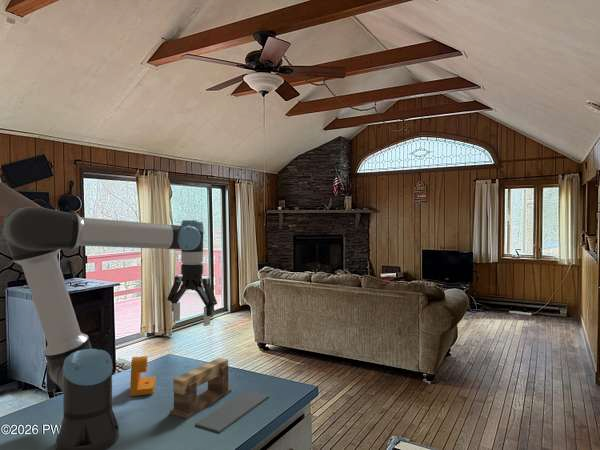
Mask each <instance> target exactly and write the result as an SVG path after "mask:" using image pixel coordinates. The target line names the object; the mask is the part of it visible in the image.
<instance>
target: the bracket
mask: <svg viewBox="0 0 600 450" xmlns="http://www.w3.org/2000/svg"><path fill="white" fill-rule="evenodd" d="M197 388H198V387H197V382H193V383H191V384H189V385H188V392H187V393H185V394H179V393H175V392H173V408H172V409H169V414H171V415H173V416H176V417H177V416H178V417H180V418H184V419H189V418H190V417H192V416H194V415H195V414H196V413H199V412H201V411H202V410H203V409H205V408H207V407H208V406H210V405H212V404H214V403H215V402H217V401H218V400H220V399H222V398H224V397H225V396H227V395H228V394H230V393H231V392H233V391H232V388H231V387H229V365H228V366H227V365H226V366H224V367H222V368H221V375H219V376H217V377H215V378H214V379H212V380H210V381H208V382H207V389H206V390H204V391H202V392H200V393H199V394H198V392H197V391H198V390H197Z"/></svg>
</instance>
